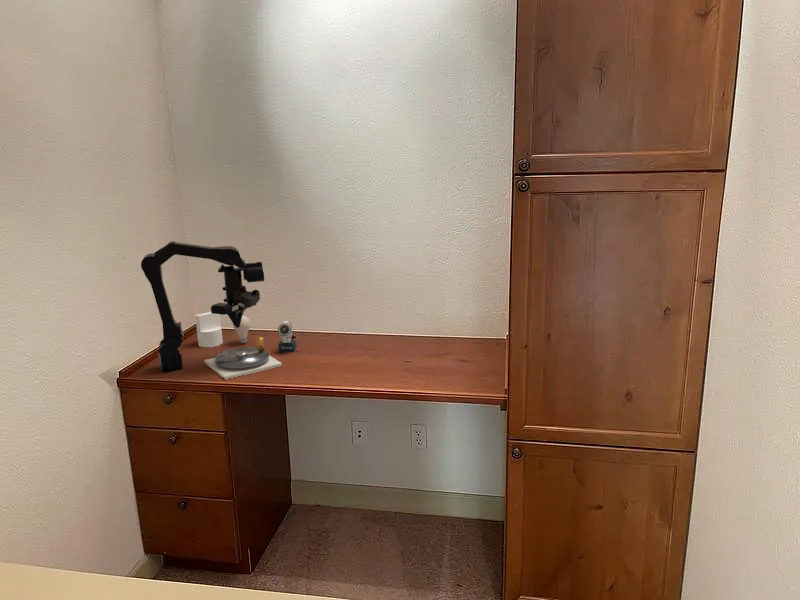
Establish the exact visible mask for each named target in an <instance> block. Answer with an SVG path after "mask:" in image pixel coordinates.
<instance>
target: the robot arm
mask: <svg viewBox="0 0 800 600" xmlns="http://www.w3.org/2000/svg"><path fill="white" fill-rule="evenodd" d="M175 255H176V256H177V255H178V256H183V257H191V258H200V259H204V260H205V259H207V260H212V261H215V262H218V263H220V264H221V265H220V266H219V267H218V269H217V272H218V273H223V278H224V286H223V287H222V291H225V297H226V298H224V299H223V302H217V303H215V304H214V303H213V304H212V305H211V306H210V312H211V313H213V314H220V315H222V316H224V315H227V316H228V317H229V319H230V321H231V323H232V325H233V324H234V326H235V327H236V328H238V327H240V323H241V319H242V316H244V315H243V314H244V312H245V311H246V310H248V309H249V308H252V307H255V306H257V303H259V301H260V300H261V297H260V296H261V293H260V291H259V290H258V289H254V290H252V291H251V290H250V291H247V287H246V285H243V281H246V282H247V283H258V282H259V283H261V282H265V273H264V269H263V262H262V261H256V262H245V261H246V260H244V259H243V258H242V257H241V255H240V251H239V250H238V249H237V248H236V247H235V246H231V245H227V246H226V245H224V246H223V245H222V246H213V247H212V246H205V245H199V244H198V245H197V244H192V243H191V244H190V243H184V242H183V243H182V242H177V241H175V240H173V241H169V242H168V243H167V244H165V245H164V246H163V247H161V248H159V249H158V250H156V251H155V252H153V253H148V254H145V255H144V256H143V258H142V260H141V262H140V268H141V270H142V272H143V274H144V276H145V278H146V279H147V280H148V282H149V284H150V287H151V289H152V293H153V296H154V300H155V303H156V307H157V309H158V313H159V316H160V320H161V323H162V333H163V338H162V340H160V341H159V344H158V345H159V346H158V350H157V354H158V355H157V356H158V361H159V362H158V363H159V365H158V368H159V370H161V372H162V373H168V372H172V371H177V370H182V369H183V367H184V366H183V357H182V353H181V352H180V349H178V348H180V347H181V346H182V343H183V339H184V337H185V331H184V330H183V328H182V321H178V322H177V321H176V319H175V317H174V314H173V310H172V308H171V307H172V306H171V304H170V300H169V297H168V294H167V291H166V287H165V284H164V279H163V278H164V277H163V267H162V266H163V264H165V263H166V262H167V261H169V259H171V258H172V257H174V256H175ZM225 265H226V266H225ZM242 275H243V276H242ZM242 277H243V279H242Z"/></svg>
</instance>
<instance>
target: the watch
mask: <svg viewBox="0 0 800 600" xmlns="http://www.w3.org/2000/svg"><path fill="white" fill-rule="evenodd" d="M279 324H280V325H279V326H278V327H277V333H278V335H279V338H280V342H278V352H279V353H295V351H296V350H297V348H298V347H297V346H298V345H297V339H295V340H293V339H292V338H293V331H294V329H293V326H292V321H291V320H283V321H282V322H281V323H279Z"/></svg>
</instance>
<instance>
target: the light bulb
mask: <svg viewBox="0 0 800 600" xmlns="http://www.w3.org/2000/svg"><path fill="white" fill-rule="evenodd" d="M251 323H252V322H251V320H250V319H249V317H247V316H246V315H242V319H241V323H240V327H238V328H236V327H235V326H234V324H233V323H232V326H233V330H234V331H235V332H236V334H237V337H238V339H239V343H240V344H245V343H247V342H248V338H247V337H248V332H249V330H250V328H251V326H252V325H251Z"/></svg>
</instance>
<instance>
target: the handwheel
mask: <svg viewBox="0 0 800 600" xmlns="http://www.w3.org/2000/svg"><path fill="white" fill-rule="evenodd" d="M256 346H257V347H256ZM256 346H241V347H235V348H234V347H233V348H230V349H226V350H223V351H221V352H219V353H218V354H216V355H215V357H214V358H215V363H216V365H217V366H219V367H222V368H227V369H243V368H250V367H254V366H257V365H260V364H263V363H265V362H266V361H267V360H268V359H269V355H270V353H269V351H268V350H267V349H266V348H265V338H264V336H257V337H256Z"/></svg>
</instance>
